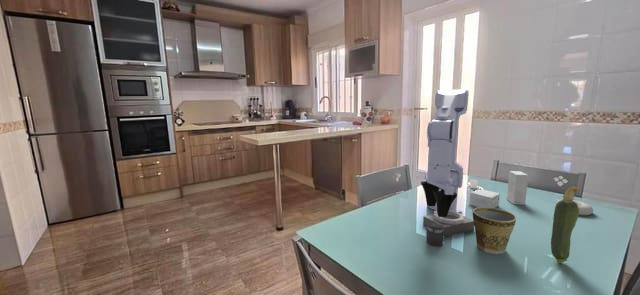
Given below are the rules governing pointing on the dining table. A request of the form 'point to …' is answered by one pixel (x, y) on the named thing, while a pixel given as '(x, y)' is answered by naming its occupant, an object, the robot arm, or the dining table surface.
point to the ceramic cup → (493, 228)
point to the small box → (484, 198)
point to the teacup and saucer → (472, 184)
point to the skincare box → (517, 187)
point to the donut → (583, 208)
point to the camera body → (450, 222)
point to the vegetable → (564, 225)
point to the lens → (435, 234)
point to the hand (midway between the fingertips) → (436, 210)
